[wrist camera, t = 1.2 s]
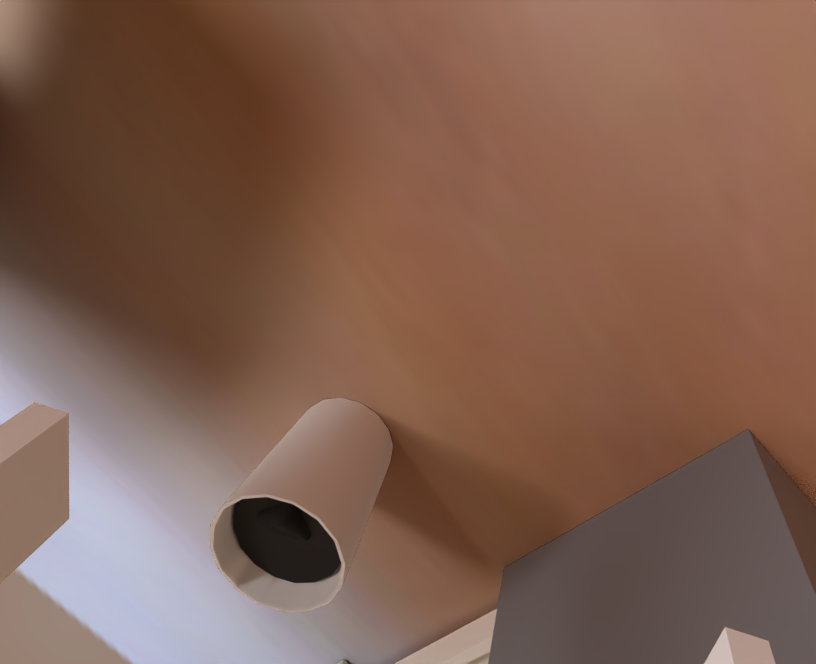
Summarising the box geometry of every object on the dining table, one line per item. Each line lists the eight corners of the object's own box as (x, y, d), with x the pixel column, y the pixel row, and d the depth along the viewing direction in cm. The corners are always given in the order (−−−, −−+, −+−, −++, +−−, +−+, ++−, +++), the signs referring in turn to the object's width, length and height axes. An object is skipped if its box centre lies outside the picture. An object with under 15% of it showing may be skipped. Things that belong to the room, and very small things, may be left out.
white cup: (272, 409, 41) (183, 512, 32) (369, 376, 39) (302, 478, 30) (323, 500, 43) (252, 623, 34) (419, 475, 40) (370, 599, 31)
